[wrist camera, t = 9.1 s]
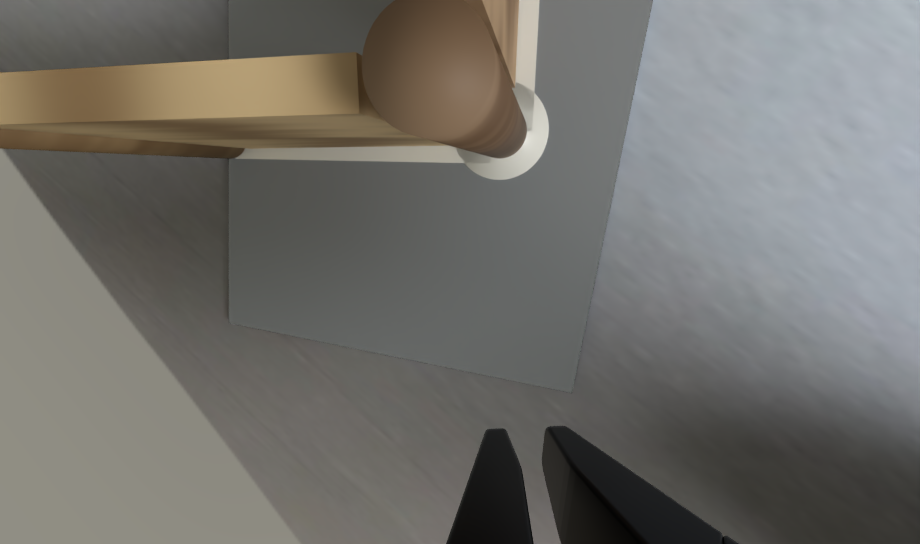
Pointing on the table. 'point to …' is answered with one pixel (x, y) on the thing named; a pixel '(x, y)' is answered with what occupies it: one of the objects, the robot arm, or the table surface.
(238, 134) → the swing panel
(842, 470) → the table surface
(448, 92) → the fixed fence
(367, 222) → the card
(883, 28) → the table surface
